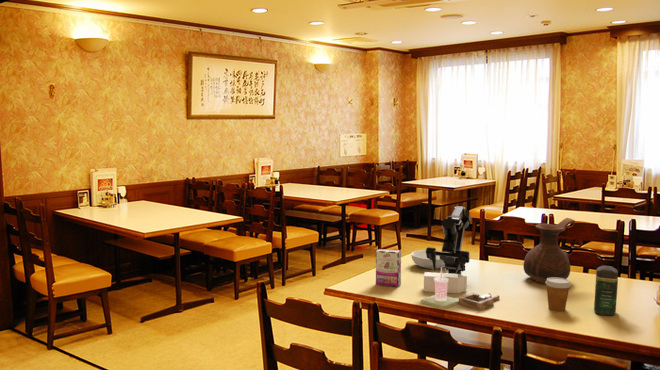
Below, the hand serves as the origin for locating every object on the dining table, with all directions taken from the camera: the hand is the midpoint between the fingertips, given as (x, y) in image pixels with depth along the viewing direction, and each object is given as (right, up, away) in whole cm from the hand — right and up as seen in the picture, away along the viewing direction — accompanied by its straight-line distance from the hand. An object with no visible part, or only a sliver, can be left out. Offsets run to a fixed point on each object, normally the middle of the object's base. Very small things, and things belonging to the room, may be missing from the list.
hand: (444, 271), depth 240 cm
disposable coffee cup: (+43, -13, -14) cm, 47 cm away
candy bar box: (-22, -10, +21) cm, 32 cm away
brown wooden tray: (+14, -12, -6) cm, 20 cm away
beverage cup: (-3, -11, -6) cm, 13 cm away
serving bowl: (+4, -6, +54) cm, 55 cm away
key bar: (+16, -12, -5) cm, 21 cm away
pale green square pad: (-3, -12, -6) cm, 14 cm away
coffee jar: (+60, -14, -18) cm, 64 cm away
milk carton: (-7, -7, +13) cm, 16 cm away
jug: (+55, -9, +28) cm, 63 cm away
